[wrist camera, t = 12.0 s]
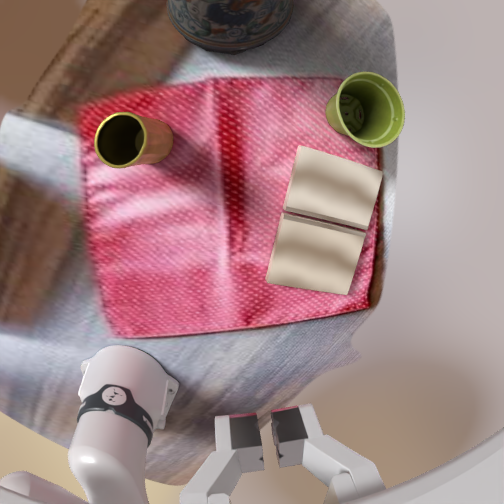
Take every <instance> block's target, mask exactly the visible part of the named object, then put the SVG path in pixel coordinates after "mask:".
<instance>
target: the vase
mask: <svg viewBox="0 0 504 504" xmlns="http://www.w3.org/2000/svg"><path fill="white" fill-rule="evenodd" d="M94 144H95V151H96V153H97V155H98V157H99V158H100V160H101V161H102V162H103V163H105V164H106V165H108V166H110V167H112V168H126V167H130V166H134V165H141V164H153V163H157V162H160V161H161V160H163V159H164V158H165V157H166V156H167V155H168V154H169V153H170V151H171V148H172V146H173V134H172V131H171V129H170V128H169V126H168V125H167V124H165V123H164V122H162V121H160V120H158V119H151V118H146V117H142V116H139V115H136V114H133V113H130V112H118V113H114V114H112V115H111V116H109V117H107V118H106V119H105V120H104V121H103V122H102V123H101V124H100V126H99V128H98V130H97V132H96V135H95V142H94Z"/></svg>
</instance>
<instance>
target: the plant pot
mask: <svg viewBox="0 0 504 504" xmlns="http://www.w3.org/2000/svg"><path fill="white" fill-rule="evenodd" d="M340 97H347V98H348V100H346V99H341V100H340ZM359 110H360V111H361V119H360V118H359ZM345 112H347V113H348V115H345ZM326 118H327V121H328V123H329V124H330V126H331V127H332V128H333V129H334V130H336V131H337V132H339V133H341V134H344V135H348V136H350V137H351V138H352V139H353V140H354V141H356V142H357V143H359V144H361V145H364V146H367V147H372V148H378V147H384V146H386V145H388V144H390V143H392V142H393V141H394V140H395V139H396V138H397V137H398V136H399V134H400V133H401V131H402V128H403V125H404V119H405V110H404V105H403V101H402V99H401V96H400V94H399V92H398V91H397V89H396V88H395V87H394V85H393V84H392V83H391V82H390V81H388V80H387V79H386V78H384V77H383V76H381V75H379V74H376V73H373V72H358V73H355V74H352V75H351V76H349V77H348V78H346V79H345V80H344V81H343V82H342V84H341V85H340V87H339V89H338V92H337V94H335V95H334V96H333V97H332V98H331V99H330V100H329V102H328V103H327V106H326ZM348 129H351V131H349V130H348Z"/></svg>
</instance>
